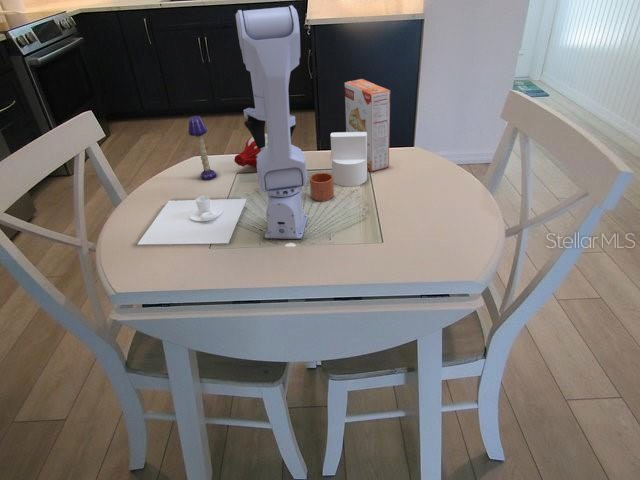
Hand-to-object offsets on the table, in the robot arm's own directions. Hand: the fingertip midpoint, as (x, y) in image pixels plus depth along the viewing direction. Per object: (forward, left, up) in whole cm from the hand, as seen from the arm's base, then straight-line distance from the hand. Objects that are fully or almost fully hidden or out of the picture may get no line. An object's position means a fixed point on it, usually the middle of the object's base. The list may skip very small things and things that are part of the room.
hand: (272, 150), depth 111 cm
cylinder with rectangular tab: (+6, -18, -11) cm, 22 cm away
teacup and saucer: (-16, +16, -11) cm, 25 cm away
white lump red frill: (+14, +7, -11) cm, 19 cm away
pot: (-4, -12, -10) cm, 16 cm away
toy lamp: (+7, +21, -11) cm, 25 cm away
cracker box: (+17, -22, -11) cm, 30 cm away
